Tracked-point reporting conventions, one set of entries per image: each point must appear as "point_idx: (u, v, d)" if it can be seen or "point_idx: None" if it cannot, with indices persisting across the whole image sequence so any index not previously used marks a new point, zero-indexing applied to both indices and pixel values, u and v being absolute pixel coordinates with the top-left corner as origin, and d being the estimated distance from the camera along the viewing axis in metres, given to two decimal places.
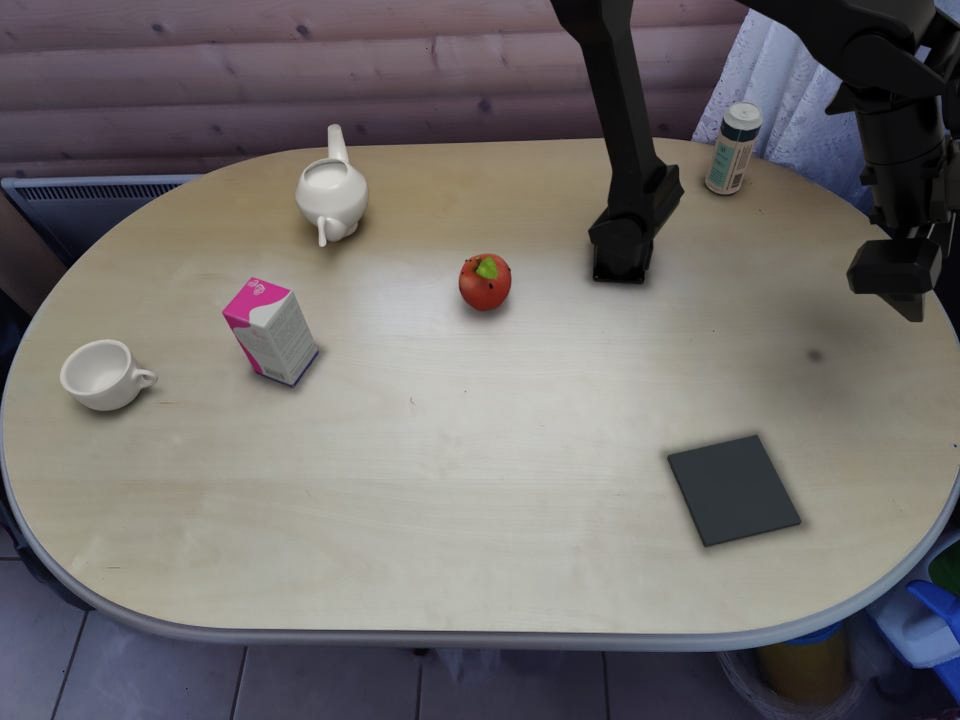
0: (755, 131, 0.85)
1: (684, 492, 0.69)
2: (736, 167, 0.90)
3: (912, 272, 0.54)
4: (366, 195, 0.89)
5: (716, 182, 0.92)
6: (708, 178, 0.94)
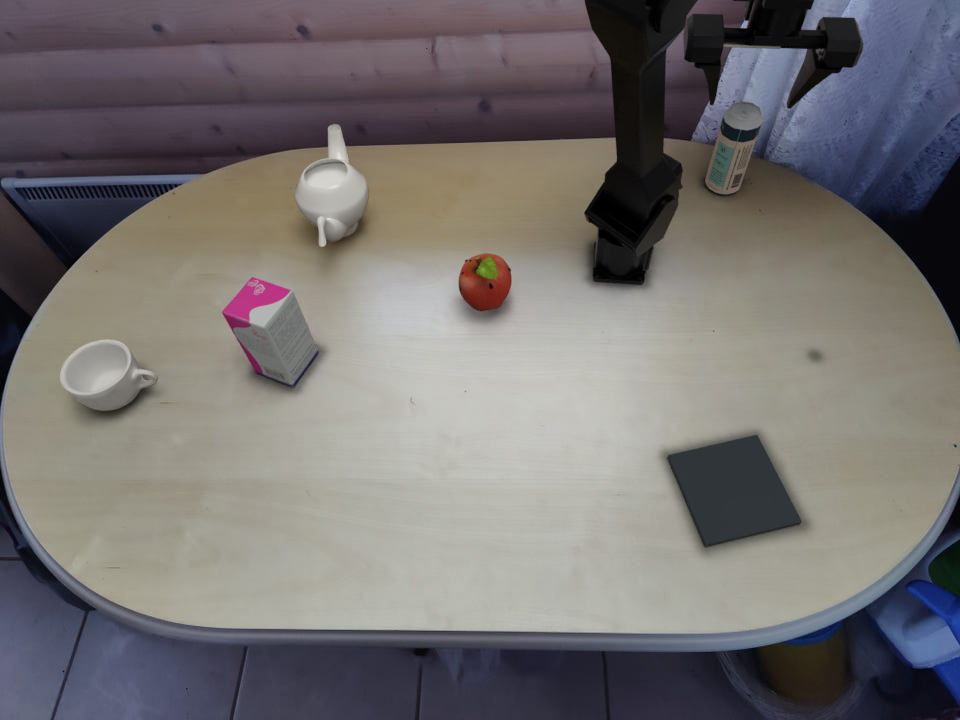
0: (755, 131, 0.85)
1: (684, 492, 0.69)
2: (736, 167, 0.90)
3: (856, 23, 0.76)
4: (366, 195, 0.89)
5: (716, 182, 0.92)
6: (708, 178, 0.94)
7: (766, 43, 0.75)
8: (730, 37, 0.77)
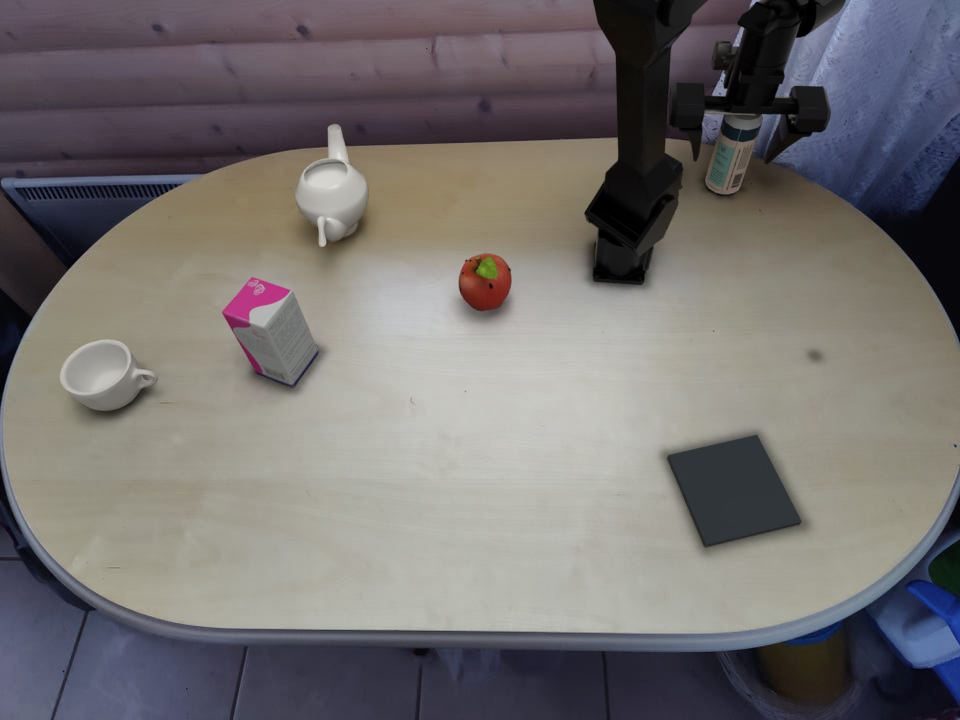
0: (755, 131, 0.85)
1: (684, 492, 0.69)
2: (736, 167, 0.90)
3: (825, 91, 0.84)
4: (366, 195, 0.89)
5: (716, 182, 0.92)
6: (708, 178, 0.94)
7: (743, 111, 0.82)
8: (710, 105, 0.85)
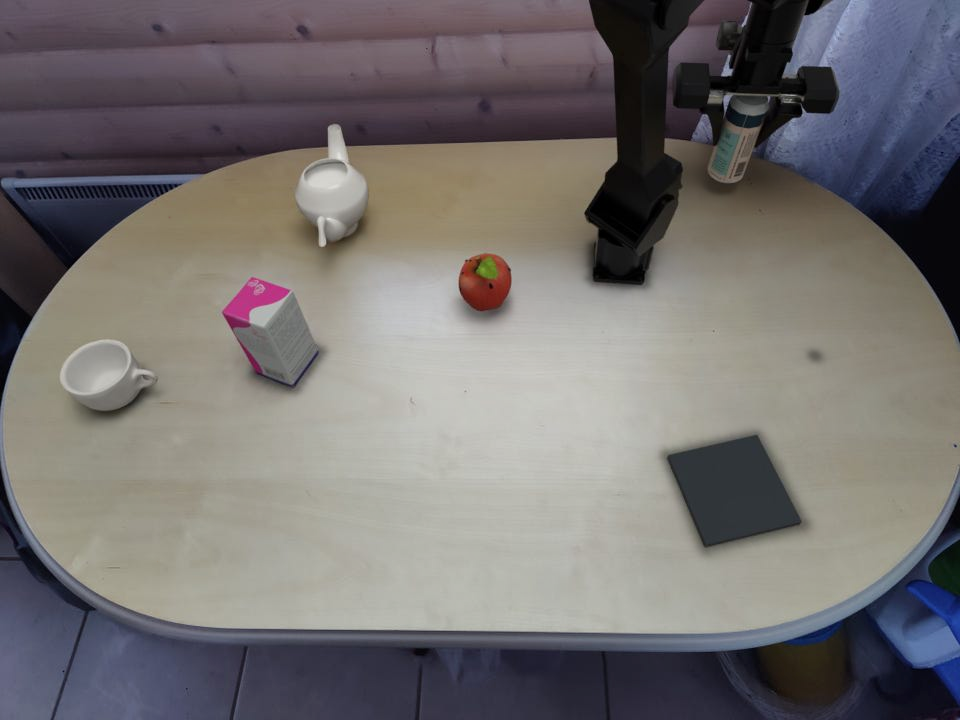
0: (761, 117, 0.84)
1: (684, 492, 0.69)
2: (740, 155, 0.88)
3: (833, 71, 0.82)
4: (366, 195, 0.89)
5: (719, 170, 0.91)
6: (711, 166, 0.92)
7: (749, 91, 0.80)
8: (715, 85, 0.82)
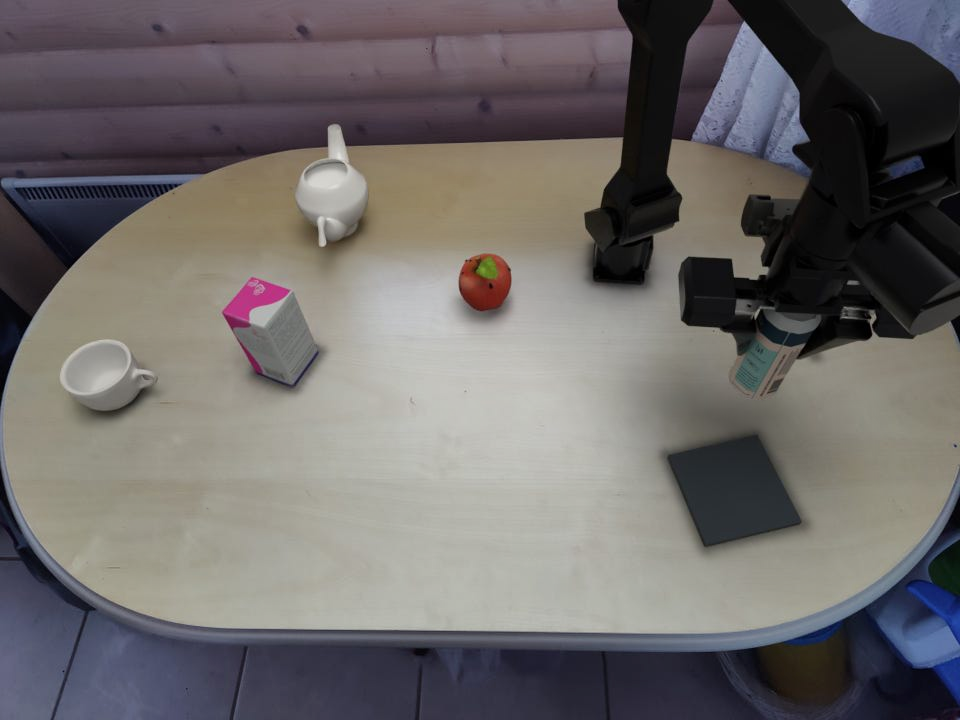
0: (810, 333, 0.57)
1: (684, 492, 0.69)
2: (777, 373, 0.62)
3: None
4: (366, 195, 0.89)
5: (746, 385, 0.64)
6: (734, 376, 0.66)
7: (795, 311, 0.54)
8: (743, 293, 0.56)
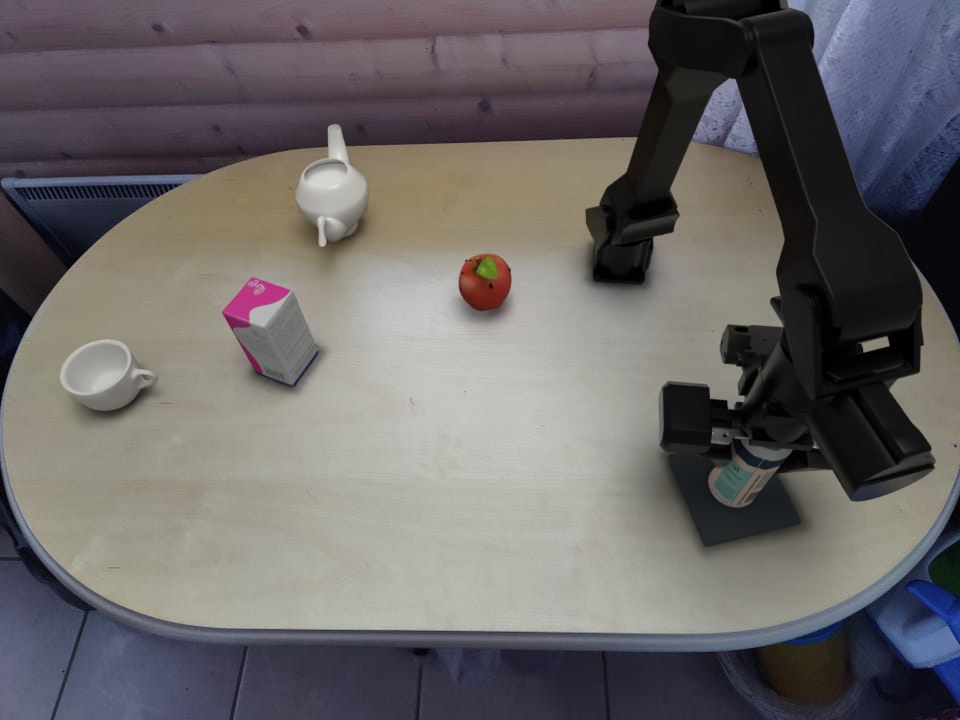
0: (784, 459, 0.60)
1: (684, 492, 0.69)
2: (753, 488, 0.64)
3: None
4: (366, 195, 0.89)
5: (724, 494, 0.67)
6: (713, 483, 0.68)
7: (767, 445, 0.56)
8: (719, 422, 0.58)
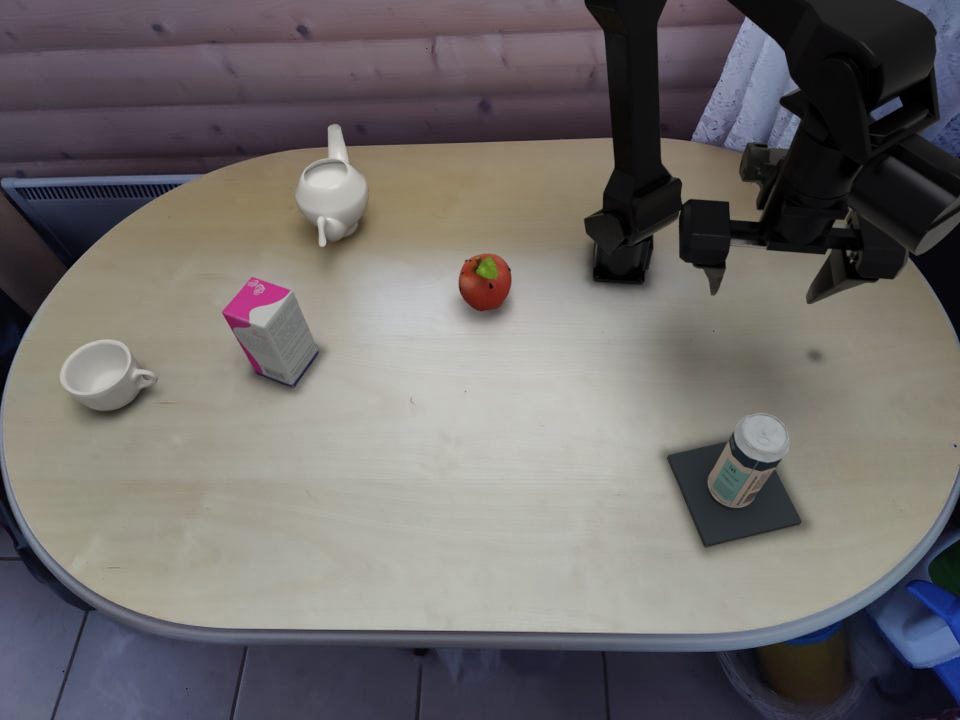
0: (779, 460, 0.60)
1: (684, 492, 0.69)
2: (751, 489, 0.64)
3: None
4: (366, 195, 0.89)
5: (723, 495, 0.67)
6: (712, 484, 0.68)
7: (784, 249, 0.58)
8: (738, 233, 0.61)
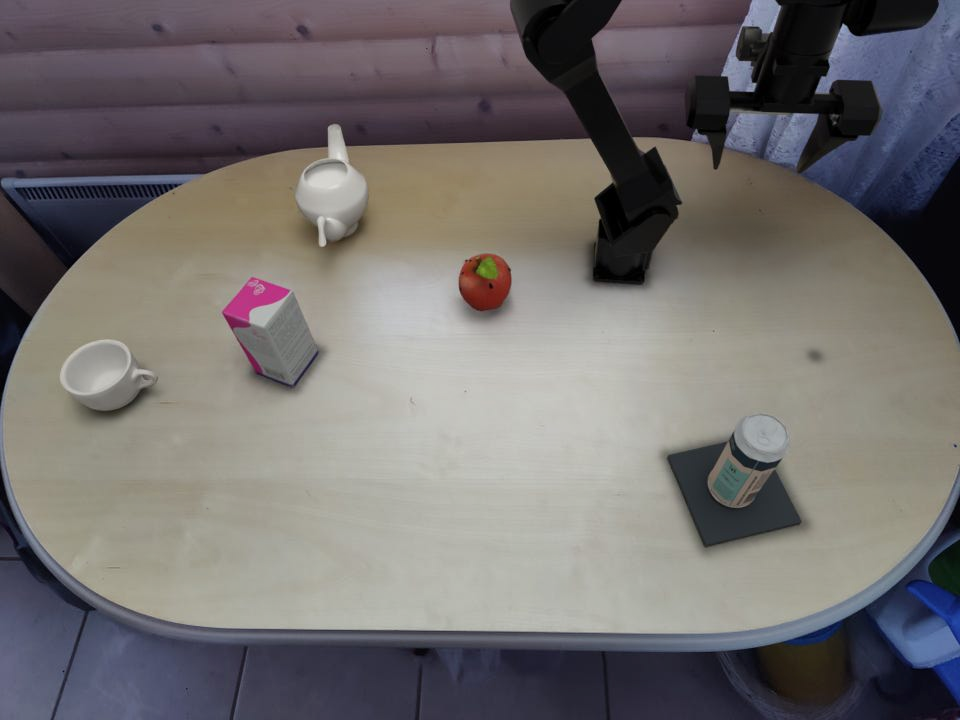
0: (779, 460, 0.60)
1: (684, 492, 0.69)
2: (751, 489, 0.64)
3: (874, 86, 0.70)
4: (366, 195, 0.89)
5: (723, 495, 0.67)
6: (712, 484, 0.68)
7: (776, 110, 0.68)
8: (736, 102, 0.71)
